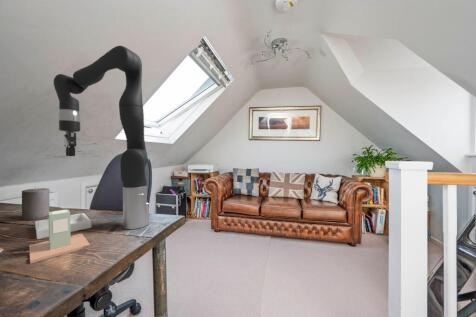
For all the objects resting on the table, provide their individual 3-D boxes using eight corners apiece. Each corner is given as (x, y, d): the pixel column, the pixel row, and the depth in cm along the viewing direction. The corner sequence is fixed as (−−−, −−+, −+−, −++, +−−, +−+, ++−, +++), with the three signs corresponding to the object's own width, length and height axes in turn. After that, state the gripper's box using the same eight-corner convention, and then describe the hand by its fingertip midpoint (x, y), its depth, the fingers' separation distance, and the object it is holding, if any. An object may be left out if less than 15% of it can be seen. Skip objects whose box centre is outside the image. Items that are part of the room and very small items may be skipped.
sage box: (49, 245, 67) (48, 211, 67) (68, 240, 71) (67, 208, 71) (50, 250, 64) (49, 215, 64) (70, 244, 68) (70, 211, 67)
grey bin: (83, 220, 95) (83, 212, 95) (91, 229, 84) (91, 220, 84) (35, 229, 83) (35, 221, 83) (37, 241, 72) (36, 231, 72)
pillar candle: (15, 221, 93) (15, 189, 93) (32, 214, 103) (32, 185, 102) (40, 220, 95) (40, 188, 95) (54, 214, 105) (54, 185, 104)
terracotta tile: (81, 235, 77) (81, 233, 77) (90, 246, 68) (90, 244, 68) (29, 247, 67) (29, 245, 67) (30, 263, 58) (30, 260, 58)
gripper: (83, 120, 91) (83, 156, 91) (77, 123, 100) (77, 155, 101) (60, 117, 85) (61, 156, 85) (57, 121, 95) (57, 156, 95)
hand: (70, 156), depth 93 cm, fingers open, 8 cm apart
